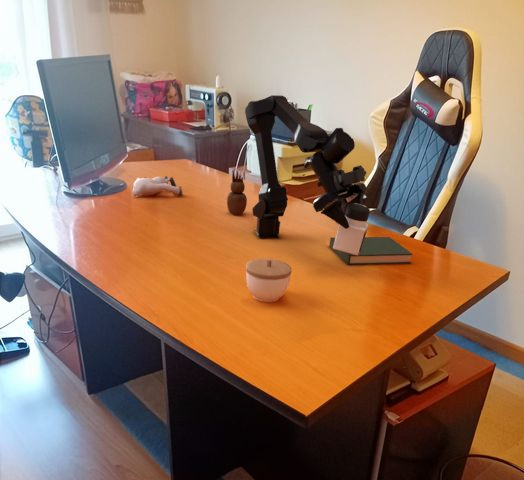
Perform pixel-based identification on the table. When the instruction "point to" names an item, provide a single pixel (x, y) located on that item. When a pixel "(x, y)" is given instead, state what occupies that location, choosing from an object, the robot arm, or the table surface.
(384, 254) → the book
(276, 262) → the trinket box
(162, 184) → the yeti figurine
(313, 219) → the table surface
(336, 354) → the table surface
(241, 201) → the wooden figurine
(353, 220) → the medicine bottle
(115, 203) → the table surface
